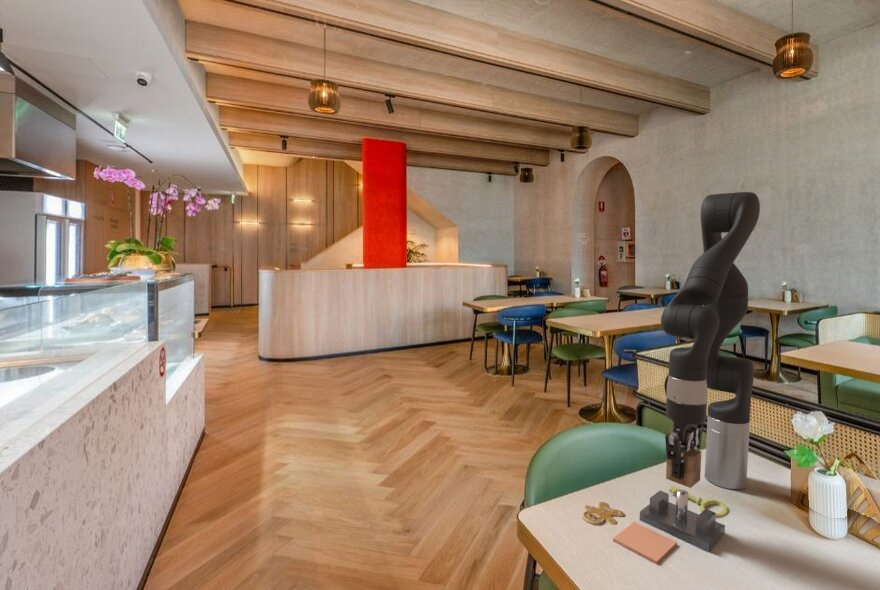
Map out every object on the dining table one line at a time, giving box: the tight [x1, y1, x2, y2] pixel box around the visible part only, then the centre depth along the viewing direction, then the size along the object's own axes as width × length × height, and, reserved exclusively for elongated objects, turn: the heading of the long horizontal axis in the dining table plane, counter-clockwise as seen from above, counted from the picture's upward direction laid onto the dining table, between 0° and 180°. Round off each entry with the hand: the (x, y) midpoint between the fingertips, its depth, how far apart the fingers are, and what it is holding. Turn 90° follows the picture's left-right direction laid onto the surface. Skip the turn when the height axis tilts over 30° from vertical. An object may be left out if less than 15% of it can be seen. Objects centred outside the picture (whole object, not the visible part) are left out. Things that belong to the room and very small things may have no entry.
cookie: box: [581, 501, 626, 526], centre depth 99 cm, size 8×1×10 cm
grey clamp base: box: [639, 488, 726, 553], centre depth 94 cm, size 9×14×8 cm, turn 39°
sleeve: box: [665, 445, 702, 489], centre depth 94 cm, size 5×5×6 cm
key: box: [668, 485, 728, 518], centre depth 103 cm, size 7×12×2 cm, turn 53°
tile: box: [612, 521, 678, 565], centre depth 89 cm, size 9×9×1 cm
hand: (683, 473), depth 94 cm, fingers closed on sleeve, 5 cm apart
